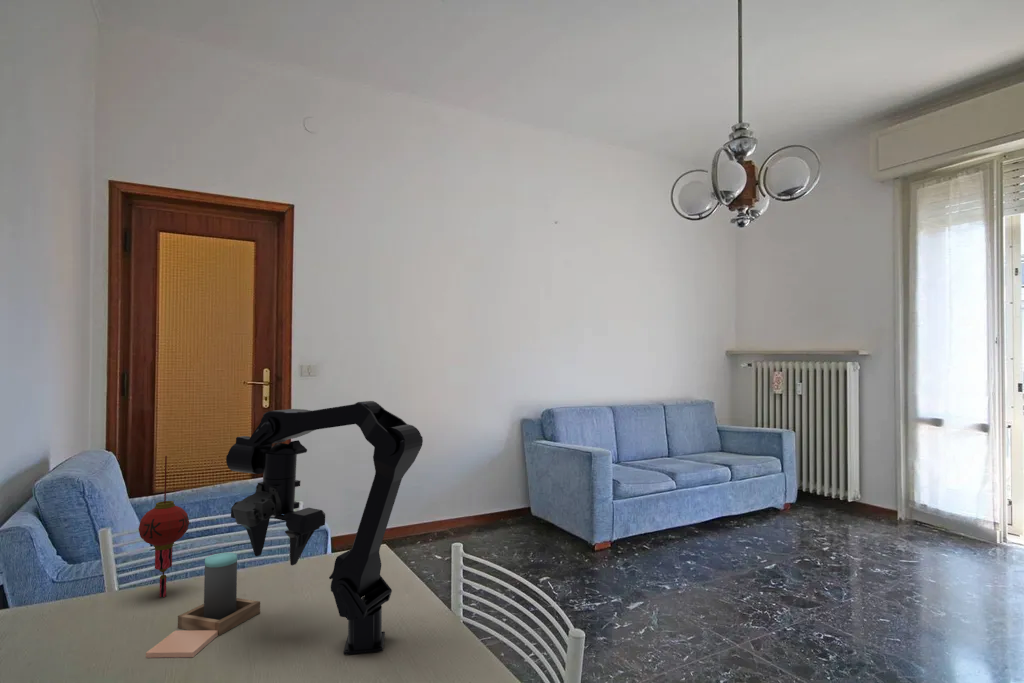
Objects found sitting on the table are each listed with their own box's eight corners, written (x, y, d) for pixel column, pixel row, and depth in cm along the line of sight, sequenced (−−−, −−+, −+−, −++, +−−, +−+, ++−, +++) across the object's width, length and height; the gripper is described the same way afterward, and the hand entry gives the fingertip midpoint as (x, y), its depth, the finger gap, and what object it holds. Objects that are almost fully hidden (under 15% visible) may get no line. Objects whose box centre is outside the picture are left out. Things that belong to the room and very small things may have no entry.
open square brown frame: (260, 612, 111) (260, 601, 111) (219, 635, 101) (219, 623, 102) (220, 606, 114) (221, 595, 114) (177, 628, 105) (177, 616, 105)
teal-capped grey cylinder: (230, 625, 105) (231, 561, 106) (198, 628, 105) (200, 563, 105) (240, 612, 111) (241, 551, 112) (209, 615, 110) (211, 553, 111)
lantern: (197, 587, 124) (200, 452, 126) (170, 605, 115) (173, 459, 116) (155, 588, 124) (158, 452, 126) (125, 605, 115) (129, 459, 116)
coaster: (218, 634, 102) (218, 630, 102) (193, 657, 94) (193, 652, 94) (174, 635, 102) (175, 630, 102) (145, 657, 94) (146, 652, 94)
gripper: (207, 477, 102) (202, 564, 101) (281, 491, 94) (276, 585, 93) (258, 468, 112) (254, 547, 111) (329, 479, 104) (325, 564, 103)
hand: (275, 560), depth 104 cm, fingers open, 9 cm apart
